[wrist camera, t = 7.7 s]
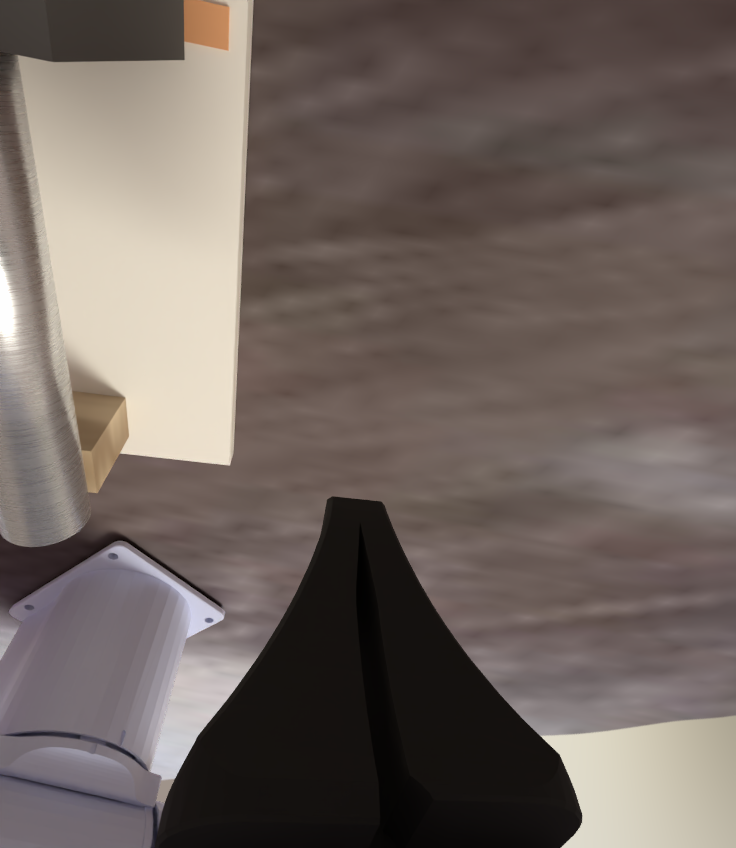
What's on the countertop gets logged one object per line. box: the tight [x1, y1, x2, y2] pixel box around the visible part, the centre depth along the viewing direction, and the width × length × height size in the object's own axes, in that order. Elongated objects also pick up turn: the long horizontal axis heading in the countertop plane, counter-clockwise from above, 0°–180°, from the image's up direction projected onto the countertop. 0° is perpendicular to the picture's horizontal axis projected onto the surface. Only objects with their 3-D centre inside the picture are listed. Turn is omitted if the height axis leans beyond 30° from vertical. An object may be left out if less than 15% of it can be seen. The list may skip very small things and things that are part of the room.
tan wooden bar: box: [72, 391, 129, 493], centre depth 16 cm, size 20×2×4 cm, turn 170°
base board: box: [18, 0, 254, 465], centre depth 17 cm, size 22×11×1 cm, turn 170°
